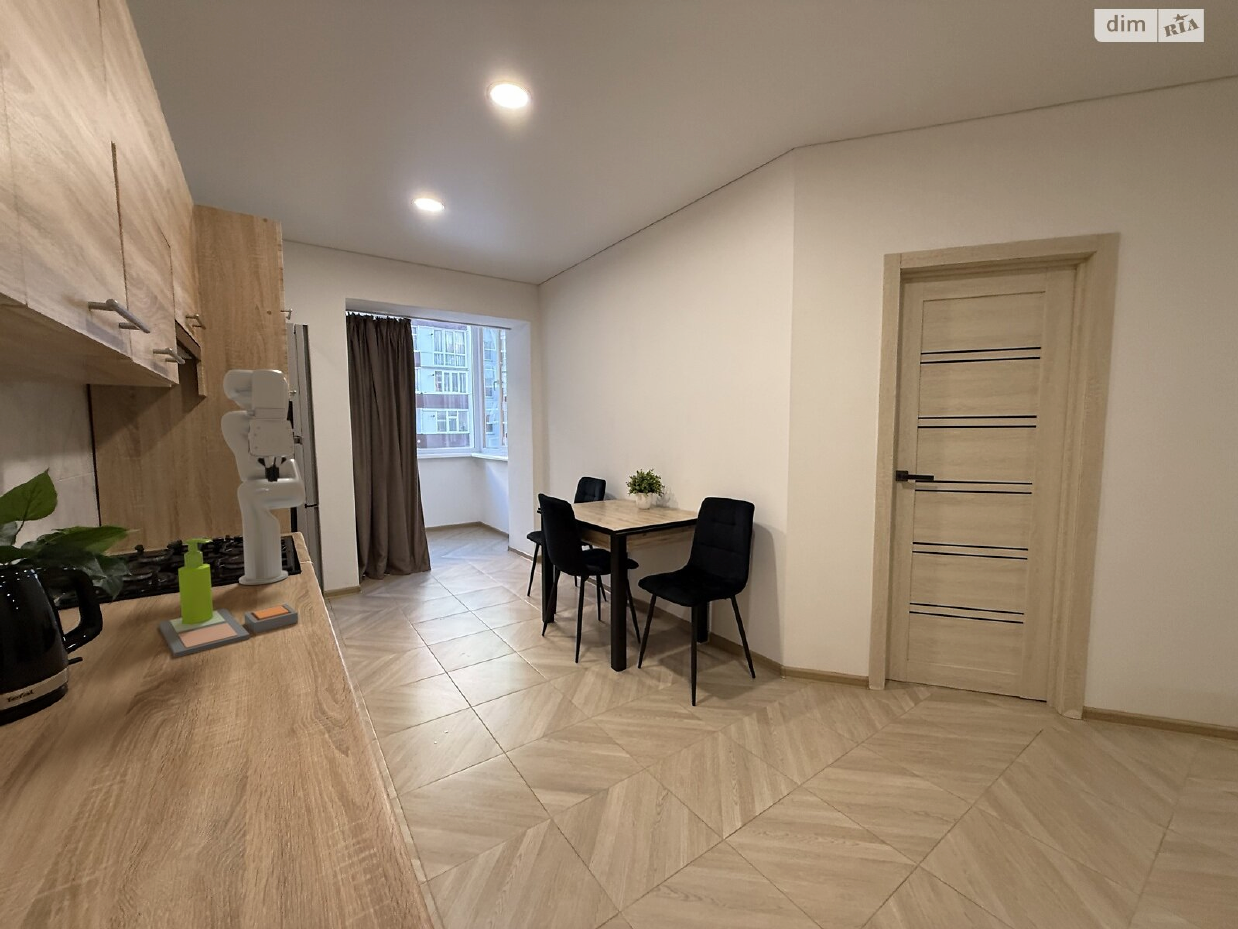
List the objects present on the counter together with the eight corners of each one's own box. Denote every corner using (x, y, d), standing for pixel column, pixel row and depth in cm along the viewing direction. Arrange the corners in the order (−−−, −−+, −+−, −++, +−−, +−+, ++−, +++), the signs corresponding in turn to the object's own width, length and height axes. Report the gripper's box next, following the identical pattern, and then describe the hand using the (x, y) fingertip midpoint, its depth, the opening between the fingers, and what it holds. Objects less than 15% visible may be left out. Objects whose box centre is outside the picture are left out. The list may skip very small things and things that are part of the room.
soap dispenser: (204, 624, 121) (199, 542, 119) (175, 624, 120) (169, 542, 119) (223, 614, 126) (218, 536, 125) (195, 615, 126) (190, 536, 125)
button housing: (244, 623, 125) (244, 613, 124) (286, 613, 131) (286, 603, 131) (254, 633, 119) (254, 623, 118) (298, 622, 125) (297, 612, 125)
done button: (253, 619, 125) (253, 612, 125) (281, 613, 129) (281, 605, 129) (260, 626, 121) (259, 618, 121) (289, 619, 125) (288, 611, 125)
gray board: (158, 626, 122) (158, 621, 122) (225, 611, 132) (225, 607, 132) (174, 657, 106) (174, 652, 106) (249, 638, 116) (249, 633, 116)
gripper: (239, 414, 131) (243, 484, 132) (304, 415, 142) (307, 480, 144) (232, 414, 136) (236, 482, 137) (296, 415, 147) (298, 478, 148)
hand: (272, 481), depth 140 cm, fingers closed
